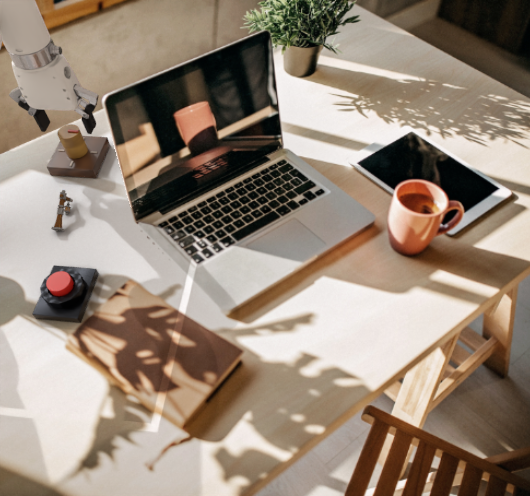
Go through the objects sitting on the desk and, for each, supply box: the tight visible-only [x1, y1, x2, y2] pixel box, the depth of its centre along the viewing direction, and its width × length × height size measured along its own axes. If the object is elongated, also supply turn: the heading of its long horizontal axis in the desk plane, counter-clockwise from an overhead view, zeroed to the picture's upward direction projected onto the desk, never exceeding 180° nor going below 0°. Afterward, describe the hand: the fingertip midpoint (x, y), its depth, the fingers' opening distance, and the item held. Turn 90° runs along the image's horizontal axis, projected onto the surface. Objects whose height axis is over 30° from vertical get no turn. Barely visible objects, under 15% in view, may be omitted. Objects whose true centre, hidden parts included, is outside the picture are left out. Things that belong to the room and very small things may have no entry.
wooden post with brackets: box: [50, 189, 74, 232], centre depth 96 cm, size 2×8×4 cm, turn 174°
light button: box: [46, 271, 74, 297], centre depth 83 cm, size 4×4×2 cm
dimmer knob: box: [56, 123, 88, 159], centre depth 102 cm, size 4×4×6 cm
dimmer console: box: [46, 135, 111, 179], centre depth 105 cm, size 10×10×3 cm
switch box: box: [32, 264, 100, 324], centre depth 85 cm, size 8×10×4 cm
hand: (69, 128), depth 100 cm, fingers open, 9 cm apart
